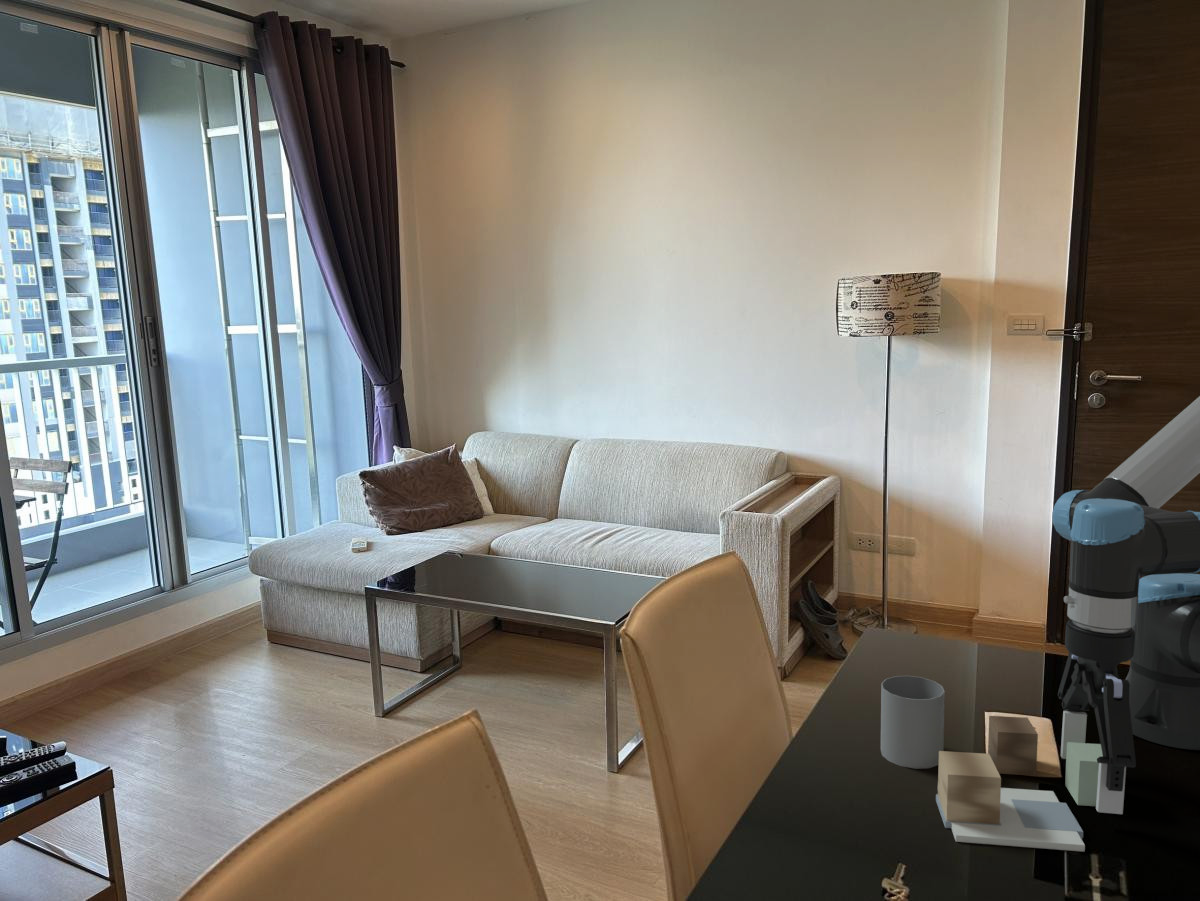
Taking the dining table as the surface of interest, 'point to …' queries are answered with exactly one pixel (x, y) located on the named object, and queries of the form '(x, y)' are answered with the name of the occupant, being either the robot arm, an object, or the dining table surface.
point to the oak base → (969, 787)
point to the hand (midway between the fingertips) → (1089, 783)
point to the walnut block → (1013, 745)
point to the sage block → (1082, 772)
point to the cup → (912, 721)
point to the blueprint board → (1024, 823)
